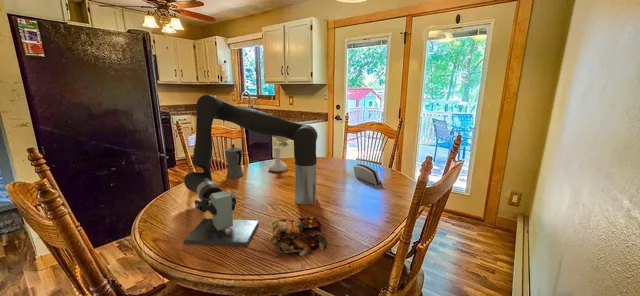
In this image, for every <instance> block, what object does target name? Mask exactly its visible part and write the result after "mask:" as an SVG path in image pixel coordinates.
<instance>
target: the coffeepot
mask: <svg viewBox="0 0 640 296" xmlns="http://www.w3.org/2000/svg"><path fill="white" fill-rule="evenodd" d="M242 151H243V149H242V148H241V147H235V143H234V144H231V147H227V148H225V149H224V153H225V157H226V162H227V169H226V177H227V178H229V179H237V178H241V177H242V176H243V177H244V174H243V173H244V172H243V168H242V159H243V158H242V157H243V153H242Z"/></svg>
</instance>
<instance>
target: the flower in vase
mask: <svg viewBox="0 0 640 296" xmlns="http://www.w3.org/2000/svg"><path fill="white" fill-rule="evenodd" d="M274 137H275V139H276V141H278V142H280V144H278V143H275V142H273V144H274V145H276V146H274V147H273V150H274V152H275V160H274V161H273V162H271V163H270V164H269V166H268V170H269V171H271V172H283V171H286V170H287V169H288V166H287V164H286V163H284V162H283V161H282V160H281V158H280V154H281V150H282V147H281V145H282V146H283V147H287V146H289V144H288V143H287V141H289V138H286V137H281V136H274Z"/></svg>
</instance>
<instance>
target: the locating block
mask: <svg viewBox="0 0 640 296" xmlns="http://www.w3.org/2000/svg"><path fill="white" fill-rule="evenodd" d="M230 194H231V193H230V192H228V191H227V190H222V192H217V193H212V194H211V201H212V205H214V207H215V208H216V209H217V215H214V214H211V215H212V219H213V225H214V226H215V227H216V229H217V230H221V229H225V228H226V227H231V226H233V220H234V219H233V218H234V217H233V211H232V199H231V195H230Z"/></svg>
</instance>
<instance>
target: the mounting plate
mask: <svg viewBox="0 0 640 296" xmlns="http://www.w3.org/2000/svg"><path fill="white" fill-rule="evenodd" d="M259 222H260V220H254V219H253V220H251V219H250V220H249V219H233V226H231V227H226V228H225V229H221V230H217V229H216V227H215V226H214V225H213V218H203V219H202V220H201V221H200V222H199V223H198V224H197V225H196V227H194V228H193V230H192V231H191V232H190V233H189V234H188V235H187V236H186V237H185V238H184V239H183V244H184V245H197V246H217V247H218V246H219V247H220V246H222V247H225V246H226V247H246V248H247V247H248V245H249V243H250V241H251V240H252V238H253V236H254V234H255V232H256V231H257V228H258V226H259V224H260V223H259Z"/></svg>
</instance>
